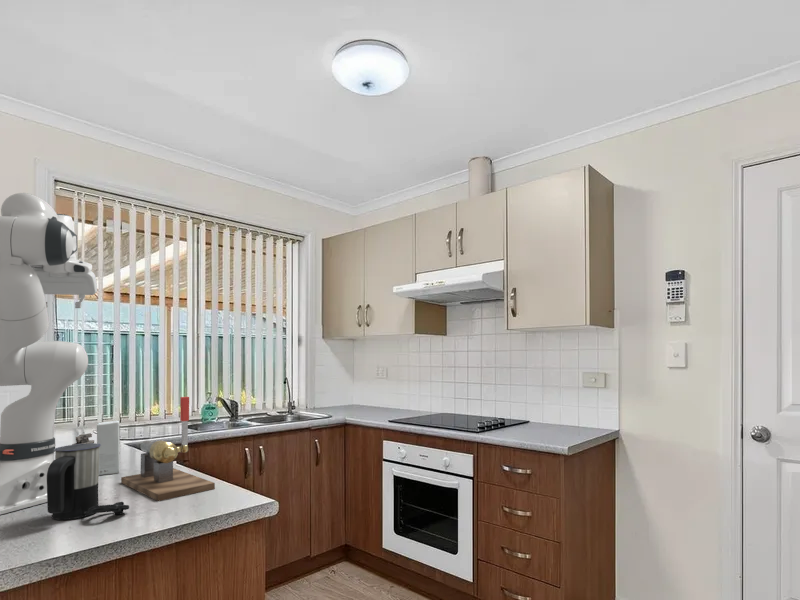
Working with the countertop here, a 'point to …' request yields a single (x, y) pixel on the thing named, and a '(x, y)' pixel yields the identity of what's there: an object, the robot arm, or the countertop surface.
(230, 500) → the countertop surface
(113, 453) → the skincare box
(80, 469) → the milk frother
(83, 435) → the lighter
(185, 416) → the valve lever
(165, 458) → the valve rig
